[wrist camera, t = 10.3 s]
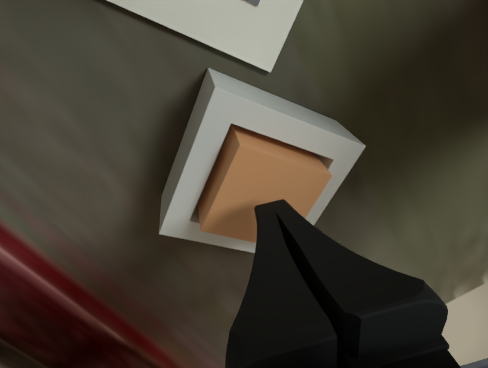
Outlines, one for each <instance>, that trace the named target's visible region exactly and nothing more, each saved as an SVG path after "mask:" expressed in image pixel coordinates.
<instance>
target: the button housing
mask: <svg viewBox="0 0 488 368" xmlns="http://www.w3.org/2000/svg"><path fill="white" fill-rule="evenodd" d="M231 123H232V124H235V125H238V126H240V127H243V128H246V129H249V130H252V131H255V132H257V133H260V134H263V135H266V136H269V137H271V138H274V139H277V140H280V141H283V142H285V143H288V144H291V145H294V146H297V147H300V148H302V149H305V150H308V151H311V152H314V153H315V155H316V156H317V157H318V158H319V159H320V161H321V162H322V163H323V164H324V166H325V167H326V168H327V169H328V170H329V172H330V173H331V174H332V175H333V176H332V177H331V179H330V180H329V182H328V183H327V185H326V187H325V188H324V190H323V191H322V193H321V194H320V196H319V198H318V199H317V201H316V202H315V204H314V205H313V207H312V209H311V210H310V212H309V213H308V215H307V216H306V218H305V219H306V220H307V221H309V222H310V223H311V224H312V225H313V226H314V224H315V223H316V221H317V220H318V218H319V217H320V215H321V214H322V212H323V211H324V209H325V208H326V206H327V205H328V203H329V202H330V200H331V199H332V197H333V196H334V194H335V192H336V191H337V189H338V188H339V186H340V185H341V183H342V182H343V180H344V179H345V177H346V176H347V174H348V173H349V171H350V170H351V168H352V167H353V165H354V164H355V162H356V161H357V159H358V158H359V156H360V155H361V153H362V152H363V150H364V149H365V147H366V146H365V145H364V144H363V143H362V142H361V141H359V140H358V139H357V138H356V137H355V136H354V135H352V134H351V133H350V132H349V131H348V130H347V129H345V128H344V127H343V126H342V125H341V124H340V123H338V122H337V121H336V120H334V119H331V118H329V117H326V116H324V115H321V114H319V113H317V112H314V111H312V110H309V109H307V108H304V107H302V106H300V105H297V104H295V103H292V102H290V101H287V100H285V99H283V98H280V97H278V96H275V95H273V94H271V93H268V92H266V91H263V90H261V89H258V88H256V87H254V86H251V85H249V84H246V83H244V82H241V81H239V80H237V79H234V78H232V77H229V76H227V75H225V74H222V73H220V72H217V71H215V70H212V69H210V68H208V69H207V72H206V74H205V77H204V80H203V83H202V85H201V88H200V91H199V94H198V97H197V99H196V102H195V105H194V108H193V110H192V113H191V116H190V119H189V121H188V124H187V127H186V130H185V132H184V135H183V138H182V141H181V143H180V146H179V149H178V152H177V155H176V157H175V160H174V163H173V166H172V168H171V171H170V174H169V177H168V179H167V182H166V185H165V188H164V190H163V193H162V197H161V211H160V225H159V234H161V235H167V236H172V237H177V238H182V239H187V240H192V241H197V242H202V243H207V244H212V245H217V246H222V247H227V248H232V249H237V250H242V251H247V252H252V253H255V248H256V243H254V242H250V241H245V240H240V239H235V238H231V237H226V236H221V235H217V234H212V233H207V232H202V231H200V221H199V211H198V200H199V198H200V196H201V193H202V191H203V189H204V186H205V184H206V182H207V179H208V177H209V175H210V172H211V170H212V168H213V165H214V163H215V161H216V158H217V156H218V154H219V151H220V149H221V147H222V144H223V142H224V140H225V137H226V135H227V133H228V130H229V128H230V126H231Z"/></svg>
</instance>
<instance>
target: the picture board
mask: <svg viewBox="0 0 488 368" xmlns="http://www.w3.org/2000/svg"><path fill="white" fill-rule="evenodd" d="M107 1H109V2H112V3H114V4H116V5H118V6H121V7H123V8H125V9H127V10H130V11H132V12H134V13H136V14H139V15H141V16H143V17H146V18H148V19H150V20H152V21H155V22H157V23H159V24H161V25H164V26H166V27H168V28H171V29H173V30H175V31H177V32H180V33H182V34H184V35H186V36H189V37H191V38H193V39H196V40H198V41H200V42H202V43H205V44H207V45H209V46H211V47H214V48H216V49H218V50H221V51H223V52H225V53H227V54H230V55H232V56H234V57H236V58H239V59H241V60H243V61H245V62H248V63H250V64H252V65H255V66H257V67H259V68H261V69H264V70H266V71H268V72H270V73H271V71H272V68H273V66H274V64H275V62H276V60H277V57H278V55H279V53H280V51H281V49H282V46H283V44H284V42H285V40H286V38H287V35H288V33H289V31H290V29H291V27H292V24H293V22H294V20H295V18H296V16H297V13H298V11H299V9H300V7H301V5H302V2H303V0H107Z"/></svg>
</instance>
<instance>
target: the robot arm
mask: <svg viewBox="0 0 488 368" xmlns="http://www.w3.org/2000/svg"><path fill="white" fill-rule="evenodd" d="M254 211H255V216H256V222H257V240H256V248H255V256H254V262H253V267H252V271H251V275H250V279H249V283H248V286H247V289H246V293H245V295H244V298H243V301H242V304H241V306H240V309H239V311H238V314H237V316H236V318H235V320H234V322H233V325H232V327H231V329H230V332H229V338H228V344H227V351H226V361H225V368H488V358H487V359H483V360H480V361H477V362H473V363H469V364H466V365H463V366H459V365H458V363H457V362H456V361H455V359H454V358H453V357H452V355H451V354H450V353H449V351H448V350H447V349H449V344H448V343H447V341H446V340H445V339H444V337H443V336H442V335H441V334H442V331H443V328H444V325H445V323H446V320H447V315H448V309H447V306H446V305H445V303H444V302H443V301H442V300H441V299H440V297H439V296H438V295H437V294H436V293H435V292H434V291H433V290H432V289H431V288H430V287H429V286H428V285H427V284H426V283H425V282H424V281H423V280H421V279H418V278H415V277H412V276H409V275H406V274H403V273H400V272H397V271H394V270H392V269H389V268H387V267H384V266H382V265H379V264H377V263H375V262H372V261H370V260H368V259H366V258H364V257H362V256H360V255H358V254H356V253H354V252H352V251H351V250H349V249H347V248H345V247H344V246H342V245H340V244H339V243H337V242H336V241H334V240H333V239H331V238H330V237H328V236H327V235H325V234H324V233H323V232H321V231H320V230H319V229H317V228H316V227H315V226H313V225H312V224H311V223H310V222H309V221H307V220H306V219H305V218H304V217H303V216H301V215H300V214H299V213H298V212H297V211H296V210H295V209H294V208H293V207H292V206H291V205H290V204H289V203H288V202H287V201H286V200H284V199H281V200H277V201H273V202H268V203H264V204H260V205H256V206H255V208H254Z"/></svg>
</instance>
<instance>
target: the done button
mask: <svg viewBox="0 0 488 368" xmlns="http://www.w3.org/2000/svg"><path fill="white" fill-rule="evenodd" d="M332 176H333V175H332V174H331V173H330V172H329V170H328V169H327V168H326V167H325V166H324V164H323V163H322V162H321V161H320V159H319V158H318V157H317V156H316V155H315V153H314V152H311V151H308V150H305V149H302V148H300V147H297V146H294V145H291V144H288V143H285V142H283V141H280V140H277V139H274V138H271V137H269V136H266V135H263V134H260V133H257V132H255V131H252V130H249V129H246V128H243V127H240V126H238V125H235V124H232V123H231V126H230V128H229V130H228V133H227V135H226V137H225V140H224V142H223V144H222V147H221V149H220V151H219V154H218V156H217V158H216V161H215V163H214V165H213V168H212V170H211V172H210V175H209V177H208V179H207V182H206V184H205V186H204V189H203V191H202V193H201V196H200V198H199V200H198V211H199V221H200V231H202V232H207V233H212V234H217V235H221V236H226V237H231V238H235V239H240V240H245V241H250V242H254V243H256V240H257V222H256V216H255V211H254V208H255V206H256V205H260V204H264V203H268V202H273V201H277V200H281V199H284V200H286V201H287V202H288V203H289V204H290V205H291V206H292V207H293V208H294V209H295V210H296V211H297V212H298V213H299V214H300V215H301V216H303V217H304V218H306V216H307V215H308V213H309V212H310V210H311V209H312V207H313V205H314V204H315V202H316V201H317V199H318V198H319V196H320V194H321V193H322V191H323V190H324V188H325V187H326V185H327V183H328V182H329V180H330V179H331V177H332Z"/></svg>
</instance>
